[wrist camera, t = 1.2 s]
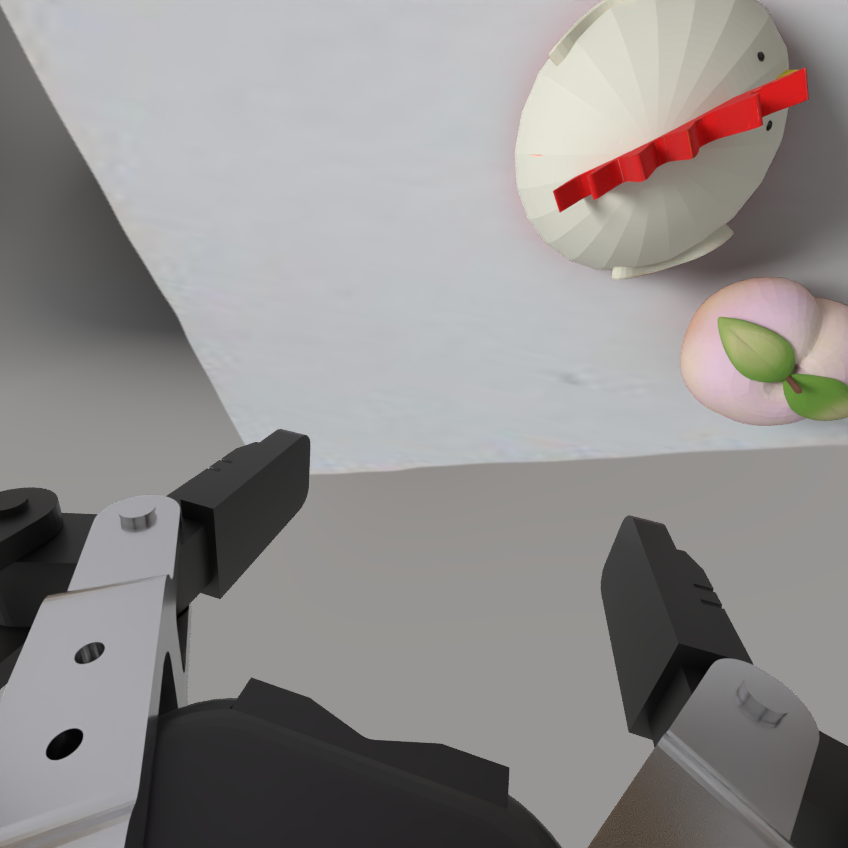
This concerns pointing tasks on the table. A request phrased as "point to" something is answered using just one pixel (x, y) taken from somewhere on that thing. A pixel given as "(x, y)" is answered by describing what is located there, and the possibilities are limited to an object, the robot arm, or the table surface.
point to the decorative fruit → (768, 353)
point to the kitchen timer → (653, 130)
